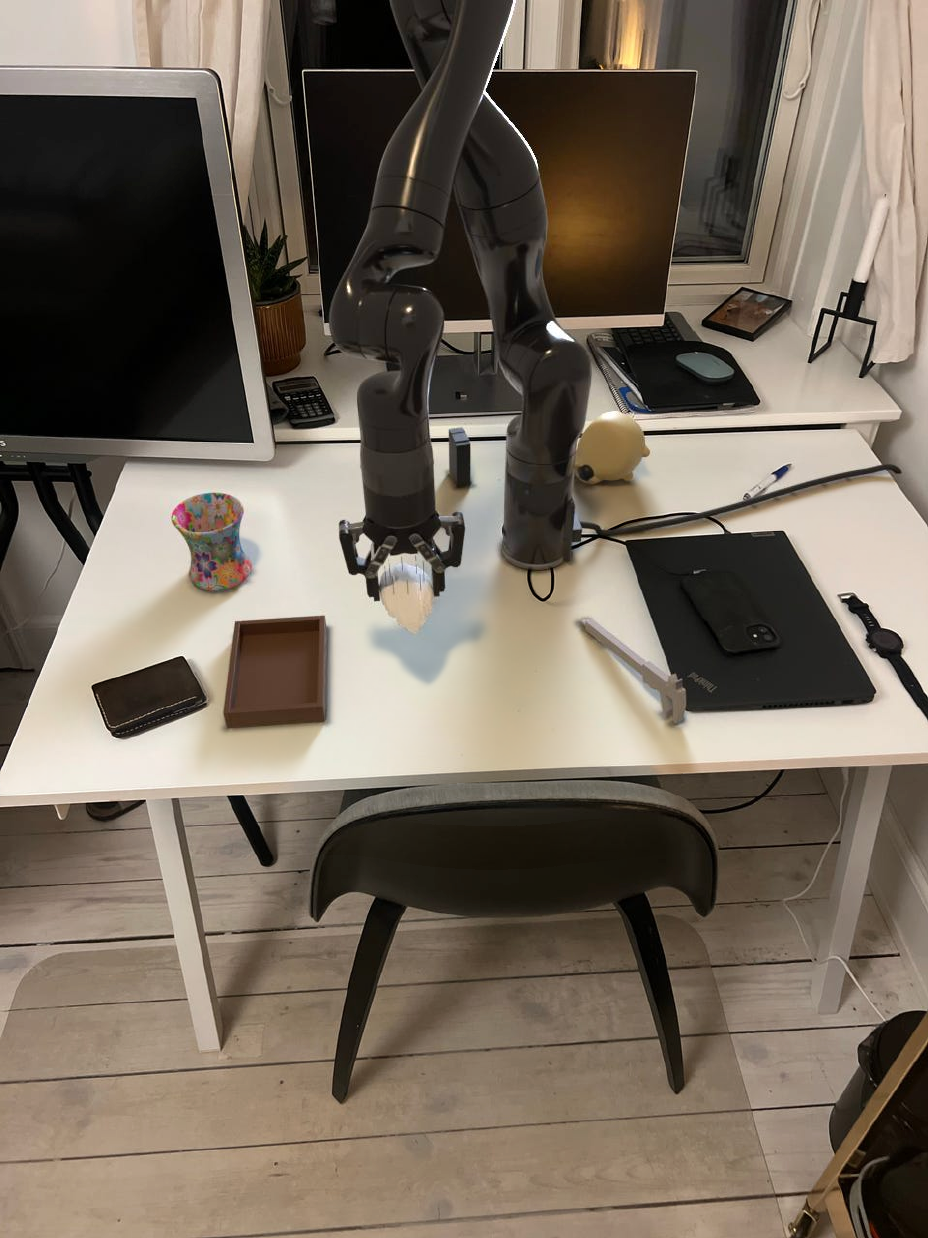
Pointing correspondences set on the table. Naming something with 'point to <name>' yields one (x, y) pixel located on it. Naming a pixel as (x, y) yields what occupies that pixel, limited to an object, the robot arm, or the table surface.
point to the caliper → (645, 671)
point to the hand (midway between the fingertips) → (406, 594)
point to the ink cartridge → (459, 457)
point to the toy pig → (610, 449)
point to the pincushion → (407, 595)
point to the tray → (277, 672)
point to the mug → (213, 539)
